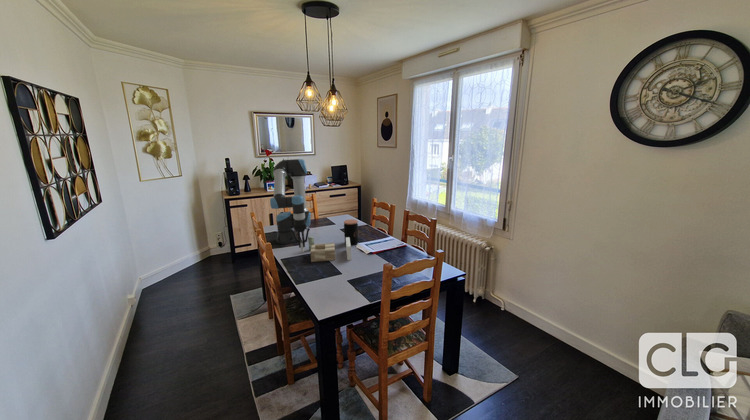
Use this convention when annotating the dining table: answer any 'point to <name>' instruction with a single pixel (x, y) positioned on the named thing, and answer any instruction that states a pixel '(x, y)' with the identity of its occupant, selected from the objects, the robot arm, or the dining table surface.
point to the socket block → (322, 252)
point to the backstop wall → (348, 248)
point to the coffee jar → (351, 231)
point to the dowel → (310, 242)
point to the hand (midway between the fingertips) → (302, 251)
